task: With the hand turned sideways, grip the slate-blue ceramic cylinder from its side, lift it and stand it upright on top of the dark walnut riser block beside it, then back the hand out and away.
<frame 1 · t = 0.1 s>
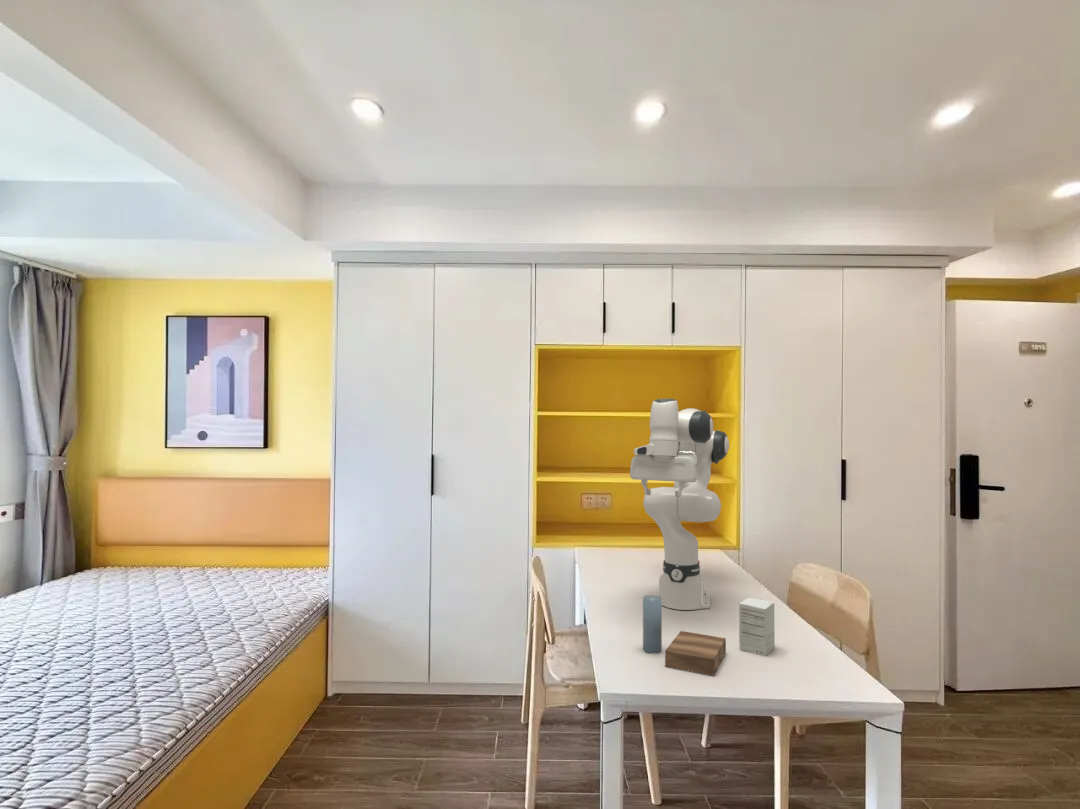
hand: (662, 496, 184), 39 cm above the table, tool pointing down, fingers open, 8 cm apart
walnut riser: (696, 659, 157), on the table
slate cylinder: (652, 650, 163), on the table
supplement box: (756, 650, 164), on the table
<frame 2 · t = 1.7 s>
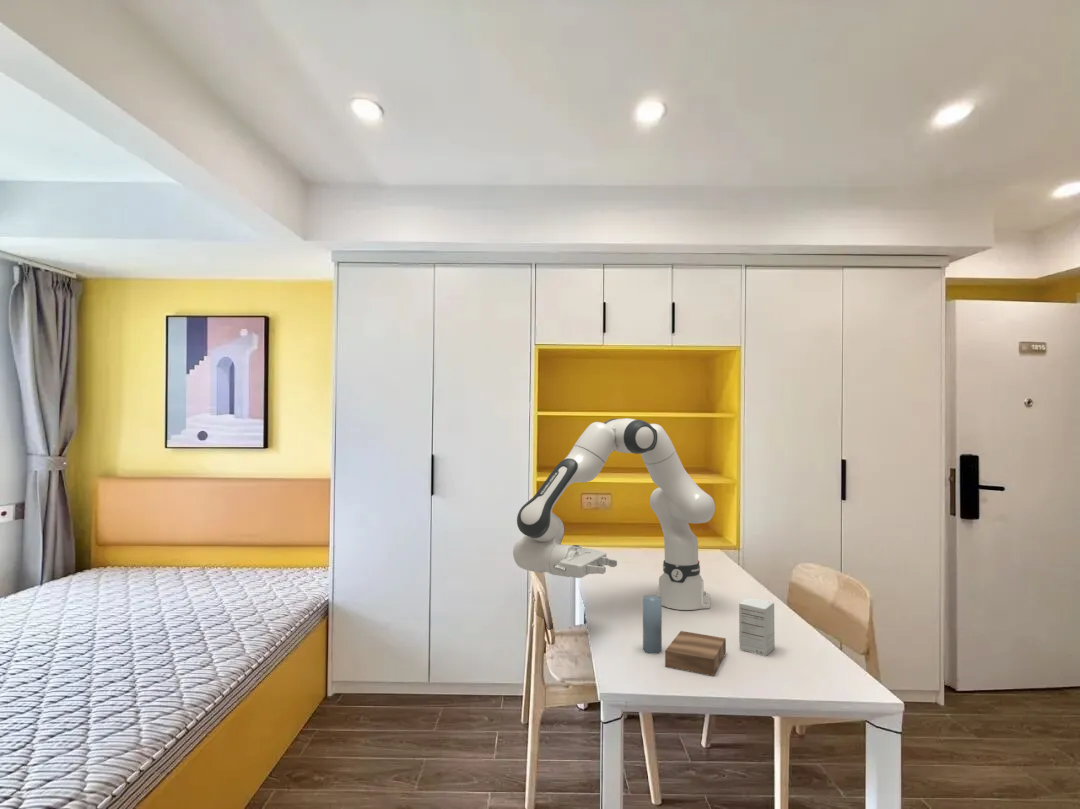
hand: (610, 567, 169), 21 cm above the table, tool horizontal, fingers open, 8 cm apart
nothing on the table moved.
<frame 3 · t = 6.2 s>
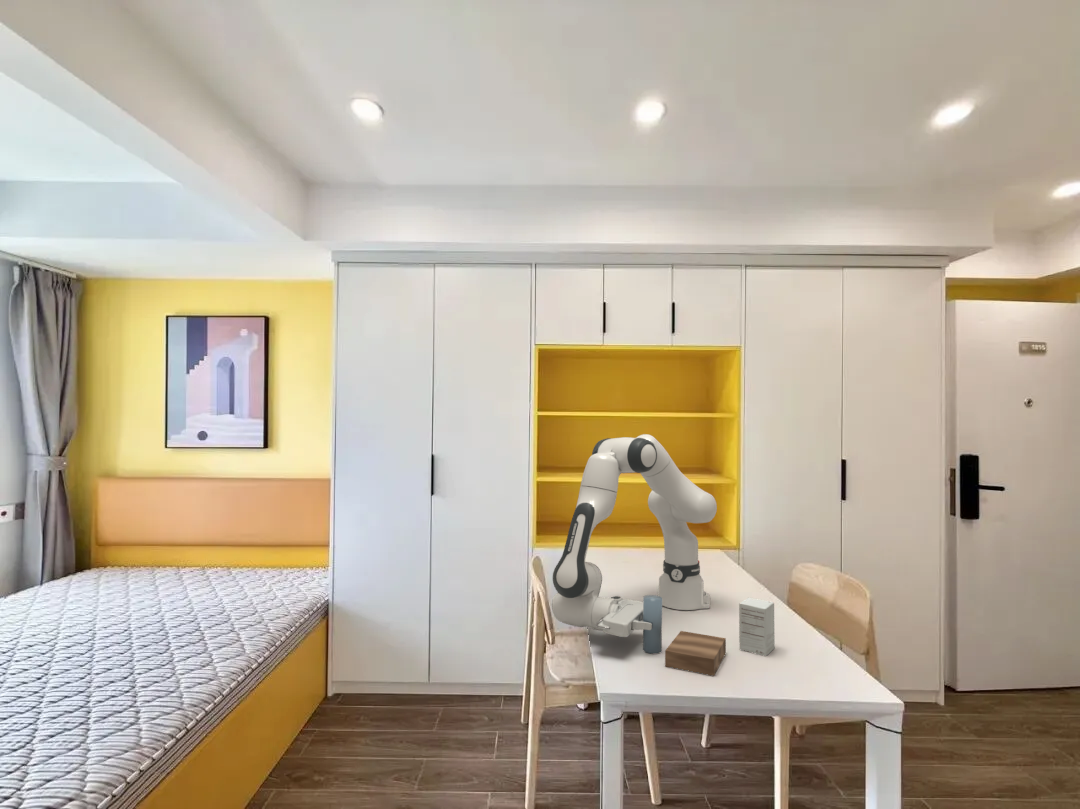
hand: (655, 622, 163), 8 cm above the table, tool horizontal, fingers closed on slate cylinder, 5 cm apart
slate cylinder: (652, 650, 163), on the table, touching gripper
everything else where it was.
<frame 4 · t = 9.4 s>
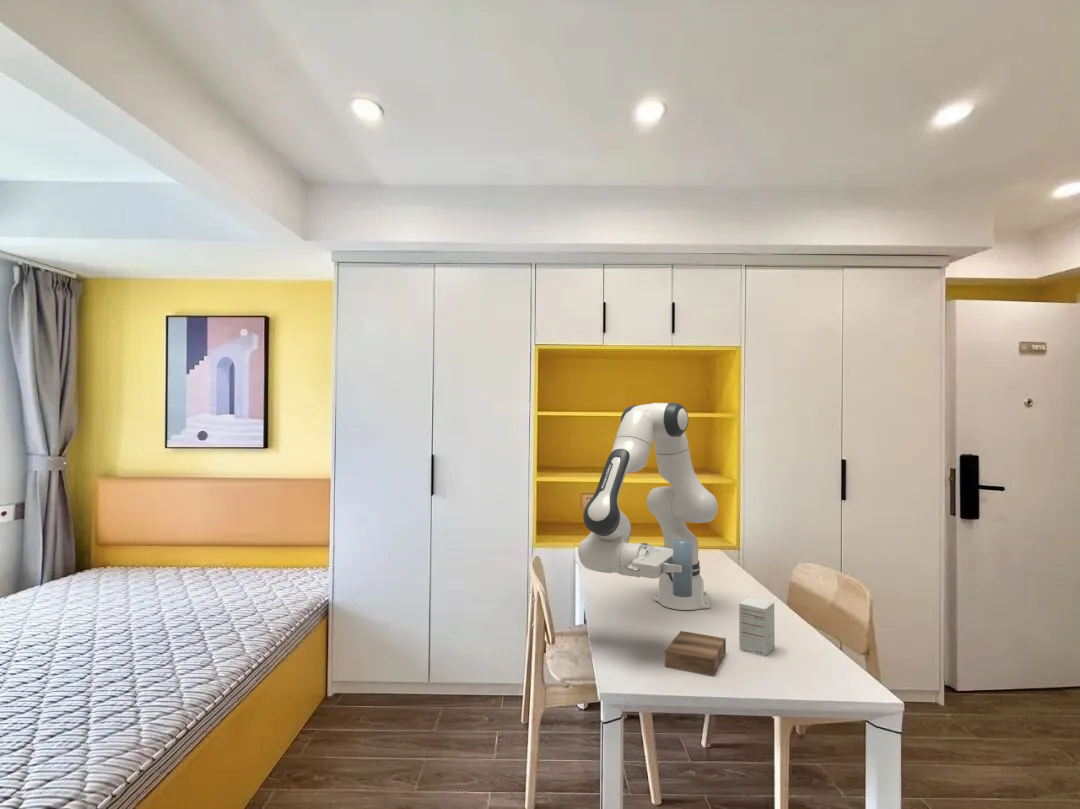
hand: (685, 566, 159), 24 cm above the table, tool horizontal, fingers closed on slate cylinder, 5 cm apart
slate cylinder: (682, 594, 159), point 16 cm above the table, touching gripper
everything else where it was.
when the fingers open (13 cm above the table, at t = 12.8 s): slate cylinder drops 1 cm, resting on walnut riser.
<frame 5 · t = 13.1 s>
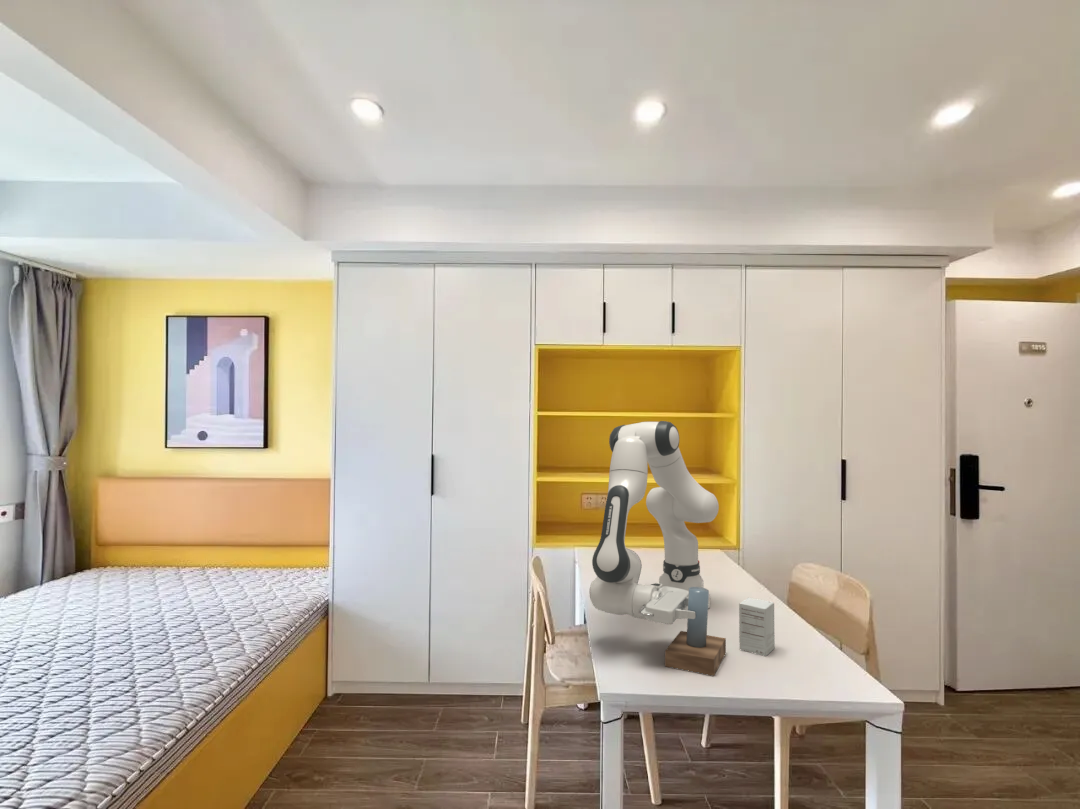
hand: (699, 609, 157), 13 cm above the table, tool horizontal, fingers open, 8 cm apart
slate cylinder: (696, 643, 157), point 4 cm above the table, touching walnut riser
everything else where it was.
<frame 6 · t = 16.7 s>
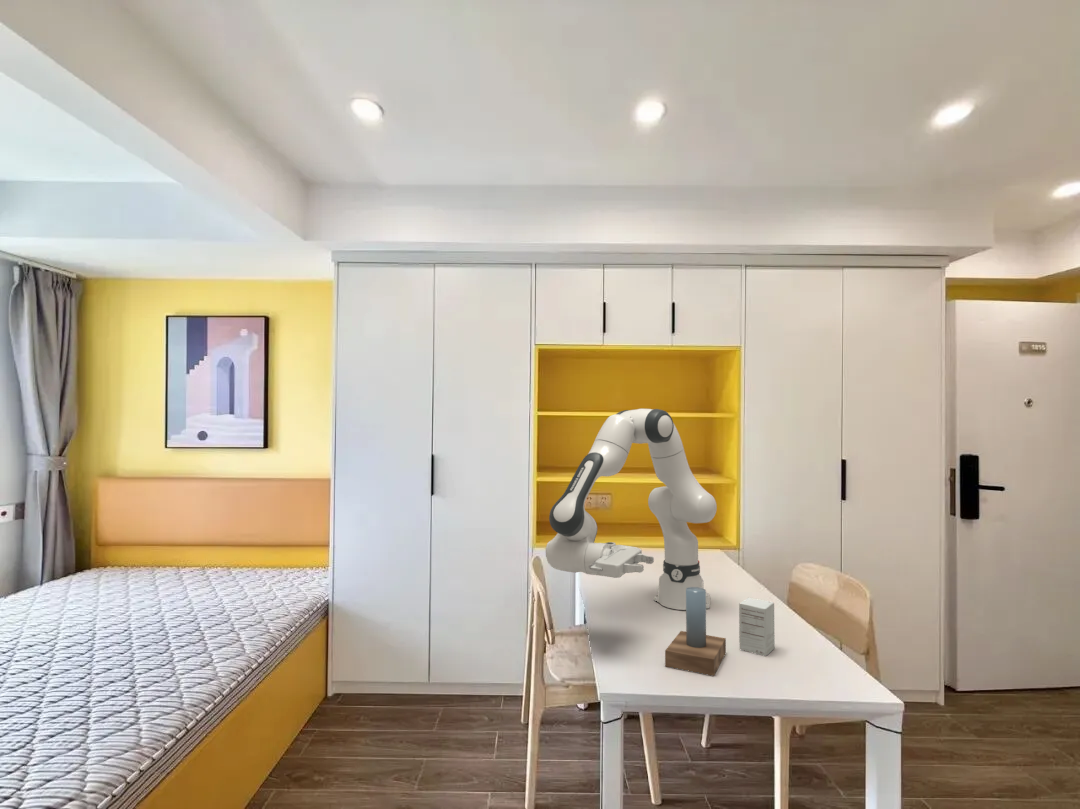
hand: (648, 564, 163), 23 cm above the table, tool horizontal, fingers open, 8 cm apart
nothing on the table moved.
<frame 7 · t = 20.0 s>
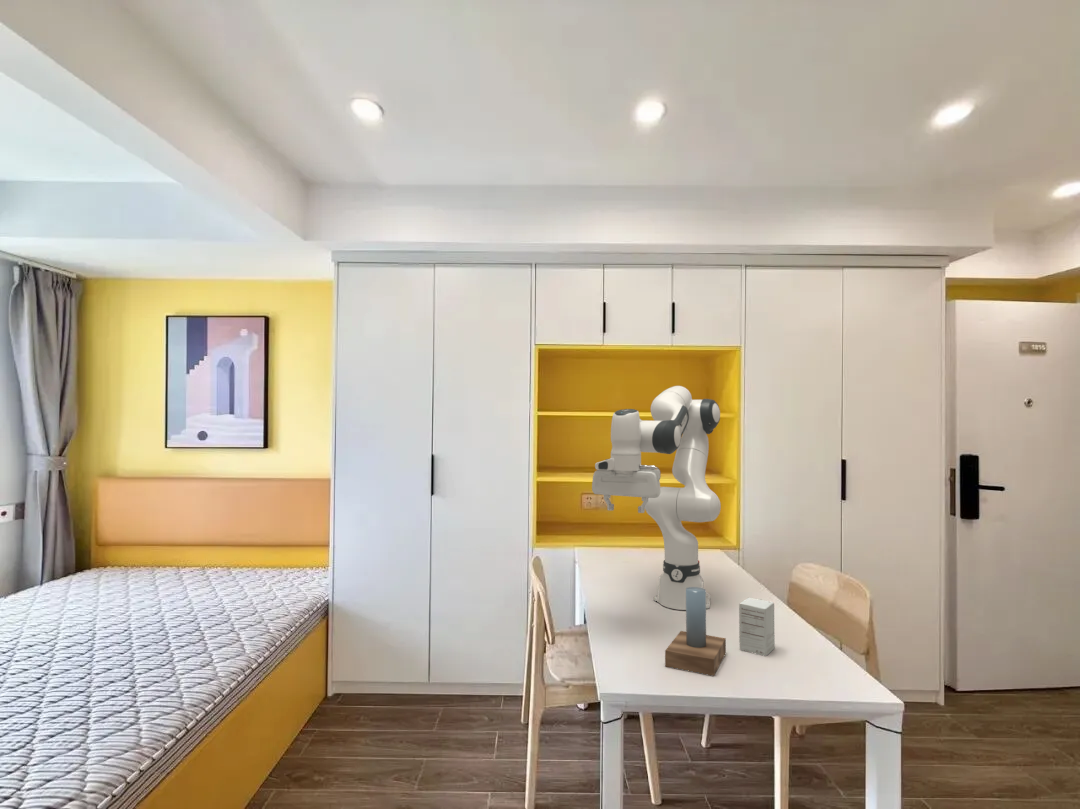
hand: (625, 511, 178), 35 cm above the table, tool pointing down, fingers open, 8 cm apart
nothing on the table moved.
at the end: slate cylinder inside the target area on the walnut riser (0.0 cm from its centre), point 4.0 cm above the walnut riser's base; slate cylinder tilted 1°; the gripper is holding nothing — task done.
